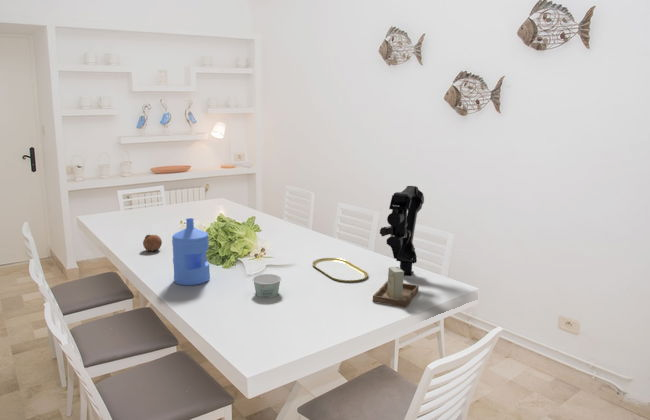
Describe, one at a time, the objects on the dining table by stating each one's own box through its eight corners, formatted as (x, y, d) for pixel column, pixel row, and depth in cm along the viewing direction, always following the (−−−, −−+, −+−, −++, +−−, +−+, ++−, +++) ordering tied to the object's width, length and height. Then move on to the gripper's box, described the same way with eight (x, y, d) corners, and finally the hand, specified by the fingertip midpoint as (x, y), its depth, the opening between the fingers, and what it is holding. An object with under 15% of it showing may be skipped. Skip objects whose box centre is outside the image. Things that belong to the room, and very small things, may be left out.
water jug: (166, 282, 223) (163, 220, 217) (191, 272, 236) (188, 213, 230) (193, 288, 216) (191, 224, 210) (217, 277, 229) (215, 217, 223)
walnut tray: (387, 286, 223) (387, 280, 222) (418, 291, 217) (418, 285, 217) (372, 301, 205) (372, 295, 204) (406, 307, 199) (406, 301, 199)
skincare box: (386, 294, 211) (387, 267, 208) (396, 293, 212) (397, 266, 210) (393, 300, 205) (394, 272, 202) (402, 299, 206) (404, 271, 204)
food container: (254, 299, 205) (254, 284, 203) (250, 289, 216) (250, 274, 215) (283, 297, 208) (283, 282, 206) (278, 287, 219) (278, 272, 218)
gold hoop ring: (340, 286, 223) (340, 282, 223) (306, 263, 253) (306, 260, 253) (375, 280, 231) (375, 276, 231) (338, 259, 262) (338, 256, 261)
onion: (145, 257, 267) (135, 241, 264) (155, 248, 275) (146, 232, 272) (158, 253, 263) (148, 237, 260) (168, 244, 271) (159, 228, 268)
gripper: (388, 215, 232) (386, 248, 235) (375, 223, 215) (374, 258, 218) (412, 218, 227) (410, 251, 231) (401, 226, 211) (399, 262, 214)
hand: (398, 255), depth 223 cm, fingers open, 9 cm apart
